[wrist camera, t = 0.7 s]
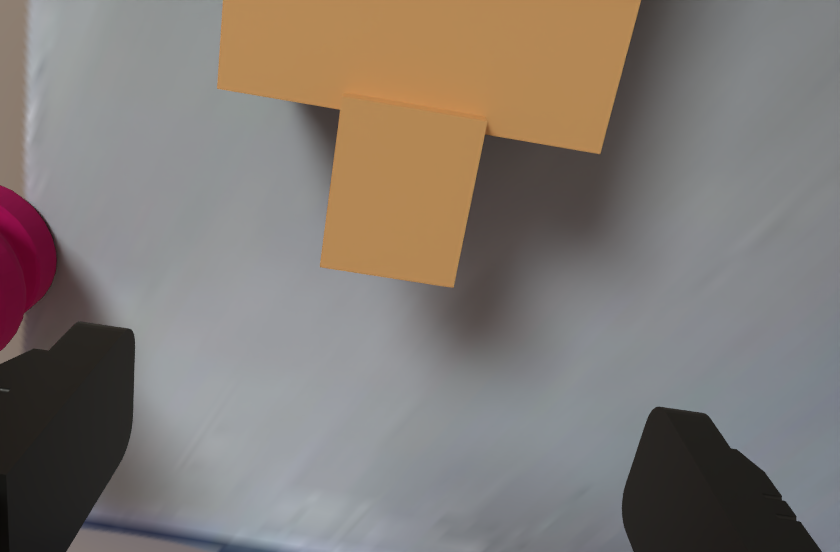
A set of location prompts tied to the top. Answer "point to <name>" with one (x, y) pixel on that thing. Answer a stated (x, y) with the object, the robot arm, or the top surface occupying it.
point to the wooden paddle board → (426, 104)
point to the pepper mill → (22, 261)
